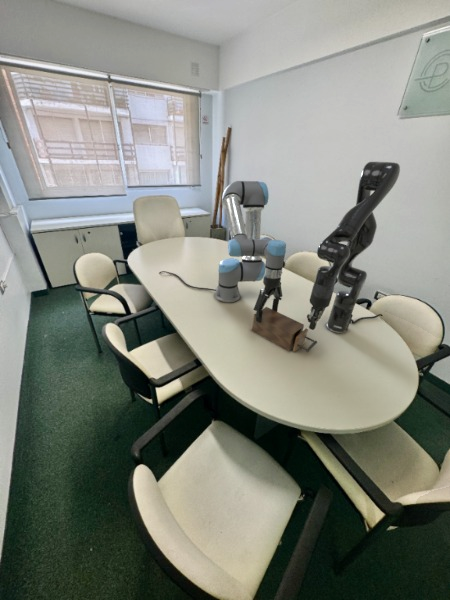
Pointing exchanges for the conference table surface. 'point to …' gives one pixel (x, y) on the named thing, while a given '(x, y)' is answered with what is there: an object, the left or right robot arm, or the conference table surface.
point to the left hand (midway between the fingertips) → (266, 315)
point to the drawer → (301, 340)
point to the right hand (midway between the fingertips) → (311, 328)
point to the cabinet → (277, 328)
